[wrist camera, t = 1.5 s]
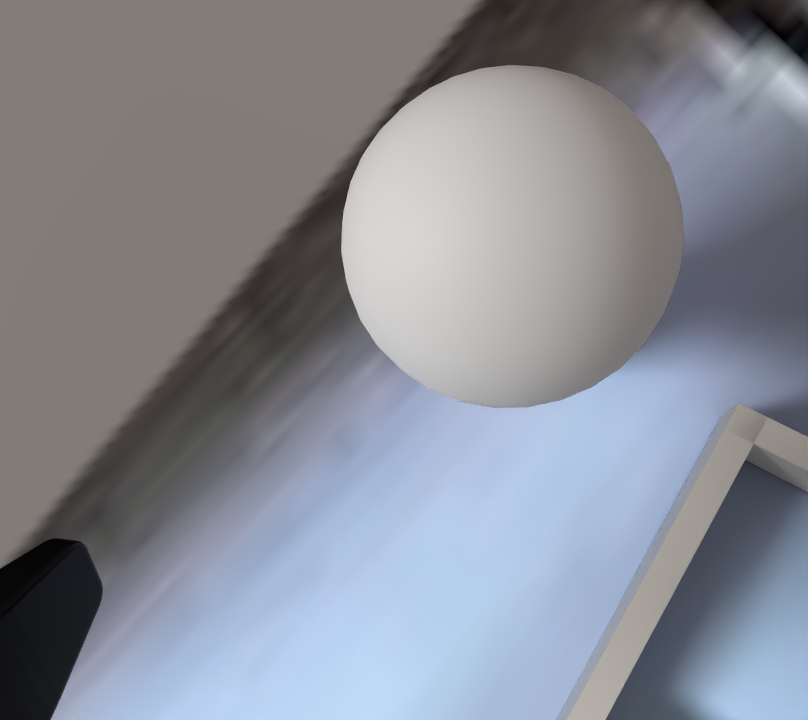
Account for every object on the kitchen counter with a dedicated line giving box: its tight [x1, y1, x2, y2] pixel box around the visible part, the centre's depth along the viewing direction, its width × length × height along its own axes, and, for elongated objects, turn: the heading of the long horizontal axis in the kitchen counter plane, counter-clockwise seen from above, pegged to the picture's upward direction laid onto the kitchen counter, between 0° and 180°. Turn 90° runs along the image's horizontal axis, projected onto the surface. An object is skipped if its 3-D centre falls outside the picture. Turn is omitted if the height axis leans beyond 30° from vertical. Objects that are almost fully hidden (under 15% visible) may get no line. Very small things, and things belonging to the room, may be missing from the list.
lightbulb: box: [341, 65, 684, 408], centre depth 16 cm, size 6×6×11 cm
